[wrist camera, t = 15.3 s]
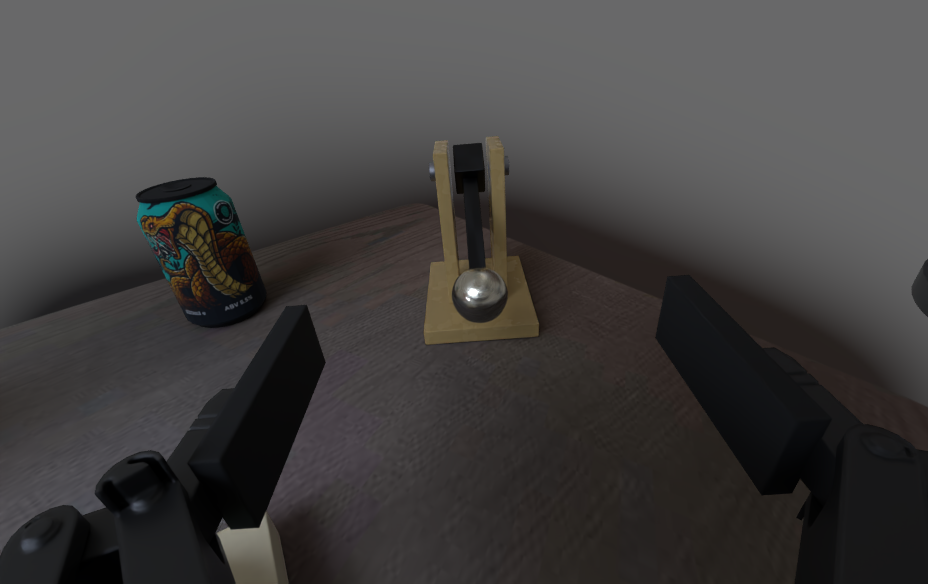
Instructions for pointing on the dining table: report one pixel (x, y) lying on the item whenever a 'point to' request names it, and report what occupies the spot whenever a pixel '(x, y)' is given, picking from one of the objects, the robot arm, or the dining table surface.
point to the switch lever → (475, 244)
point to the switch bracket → (440, 310)
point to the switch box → (255, 554)
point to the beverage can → (201, 250)
